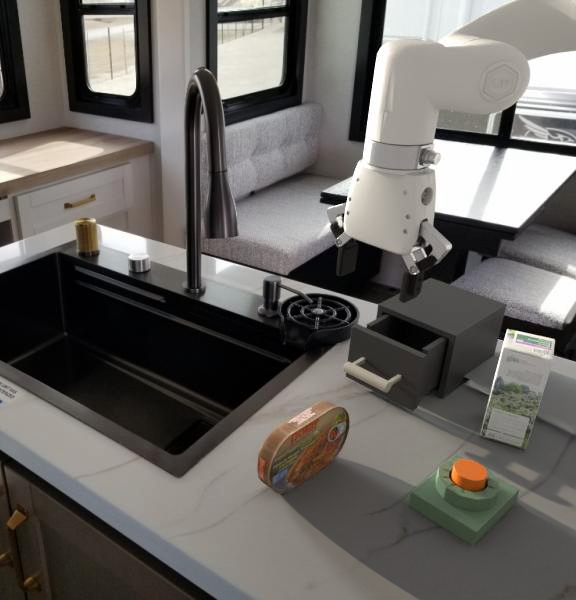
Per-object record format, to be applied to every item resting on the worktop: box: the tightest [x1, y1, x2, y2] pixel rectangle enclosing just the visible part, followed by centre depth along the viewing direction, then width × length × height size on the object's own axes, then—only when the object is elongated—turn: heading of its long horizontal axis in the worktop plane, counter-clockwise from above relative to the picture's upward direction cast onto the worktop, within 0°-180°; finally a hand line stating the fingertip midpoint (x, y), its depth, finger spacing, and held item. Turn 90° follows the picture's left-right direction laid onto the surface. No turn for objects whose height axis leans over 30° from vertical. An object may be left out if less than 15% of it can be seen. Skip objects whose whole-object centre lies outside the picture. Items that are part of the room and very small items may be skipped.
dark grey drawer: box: [342, 314, 449, 412], centre depth 94 cm, size 18×12×9 cm, turn 130°
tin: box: [256, 400, 350, 495], centre depth 79 cm, size 15×3×8 cm, turn 129°
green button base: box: [407, 454, 520, 547], centre depth 74 cm, size 10×8×4 cm
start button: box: [451, 458, 488, 492], centre depth 73 cm, size 4×4×2 cm
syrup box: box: [479, 328, 556, 450], centre depth 84 cm, size 6×6×14 cm
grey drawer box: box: [375, 277, 508, 400], centre depth 100 cm, size 15×13×11 cm
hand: (375, 285), depth 82 cm, fingers open, 9 cm apart
